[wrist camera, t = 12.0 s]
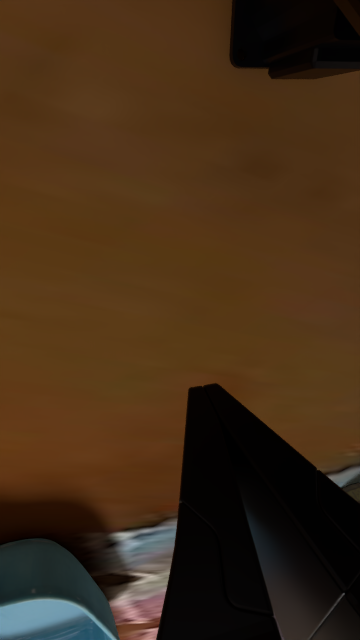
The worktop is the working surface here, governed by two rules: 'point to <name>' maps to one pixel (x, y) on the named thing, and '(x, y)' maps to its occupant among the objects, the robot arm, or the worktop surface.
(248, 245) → the worktop surface
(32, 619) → the casserole dish
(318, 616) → the robot arm
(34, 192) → the worktop surface
